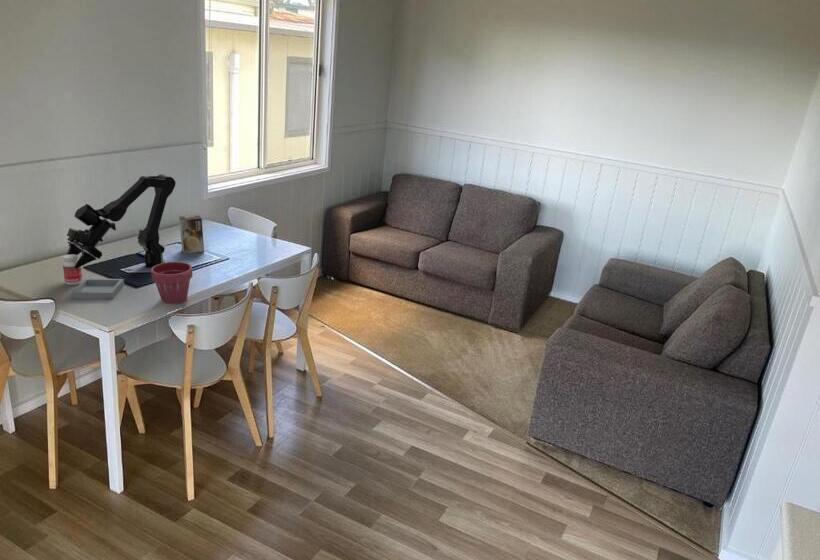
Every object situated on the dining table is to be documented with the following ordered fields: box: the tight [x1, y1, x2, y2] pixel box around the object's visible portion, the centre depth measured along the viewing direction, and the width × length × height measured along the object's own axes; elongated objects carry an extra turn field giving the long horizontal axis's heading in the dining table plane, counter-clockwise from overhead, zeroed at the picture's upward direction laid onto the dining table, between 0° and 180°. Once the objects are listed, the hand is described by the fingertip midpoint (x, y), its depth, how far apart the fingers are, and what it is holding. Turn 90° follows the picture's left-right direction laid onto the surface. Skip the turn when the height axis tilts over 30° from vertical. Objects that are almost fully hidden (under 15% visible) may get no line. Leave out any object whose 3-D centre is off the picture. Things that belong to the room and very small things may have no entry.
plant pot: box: [150, 261, 193, 305], centre depth 231 cm, size 14×14×13 cm
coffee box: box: [178, 214, 205, 255], centre depth 284 cm, size 9×6×16 cm
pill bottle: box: [62, 254, 84, 286], centre depth 241 cm, size 6×6×11 cm
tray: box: [70, 278, 125, 300], centre depth 236 cm, size 14×14×2 cm
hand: (70, 264), depth 240 cm, fingers open, 9 cm apart
